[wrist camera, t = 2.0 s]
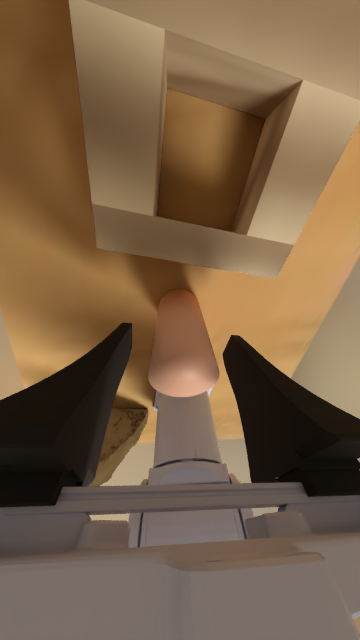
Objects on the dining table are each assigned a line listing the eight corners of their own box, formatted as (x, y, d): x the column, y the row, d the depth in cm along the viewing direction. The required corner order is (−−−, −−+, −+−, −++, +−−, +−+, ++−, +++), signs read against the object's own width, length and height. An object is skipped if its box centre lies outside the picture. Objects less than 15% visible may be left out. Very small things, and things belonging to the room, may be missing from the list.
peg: (194, 326, 17) (208, 398, 10) (157, 321, 16) (146, 395, 10) (203, 292, 14) (229, 356, 8) (161, 286, 14) (150, 348, 7)
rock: (161, 416, 23) (87, 412, 19) (146, 491, 20) (56, 506, 16) (140, 400, 32) (88, 395, 28) (128, 450, 29) (68, 452, 25)
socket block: (256, 267, 13) (276, 278, 11) (112, 241, 12) (97, 248, 9) (342, 71, 8) (420, 4, 5) (97, -24, 6) (48, -179, 4)
